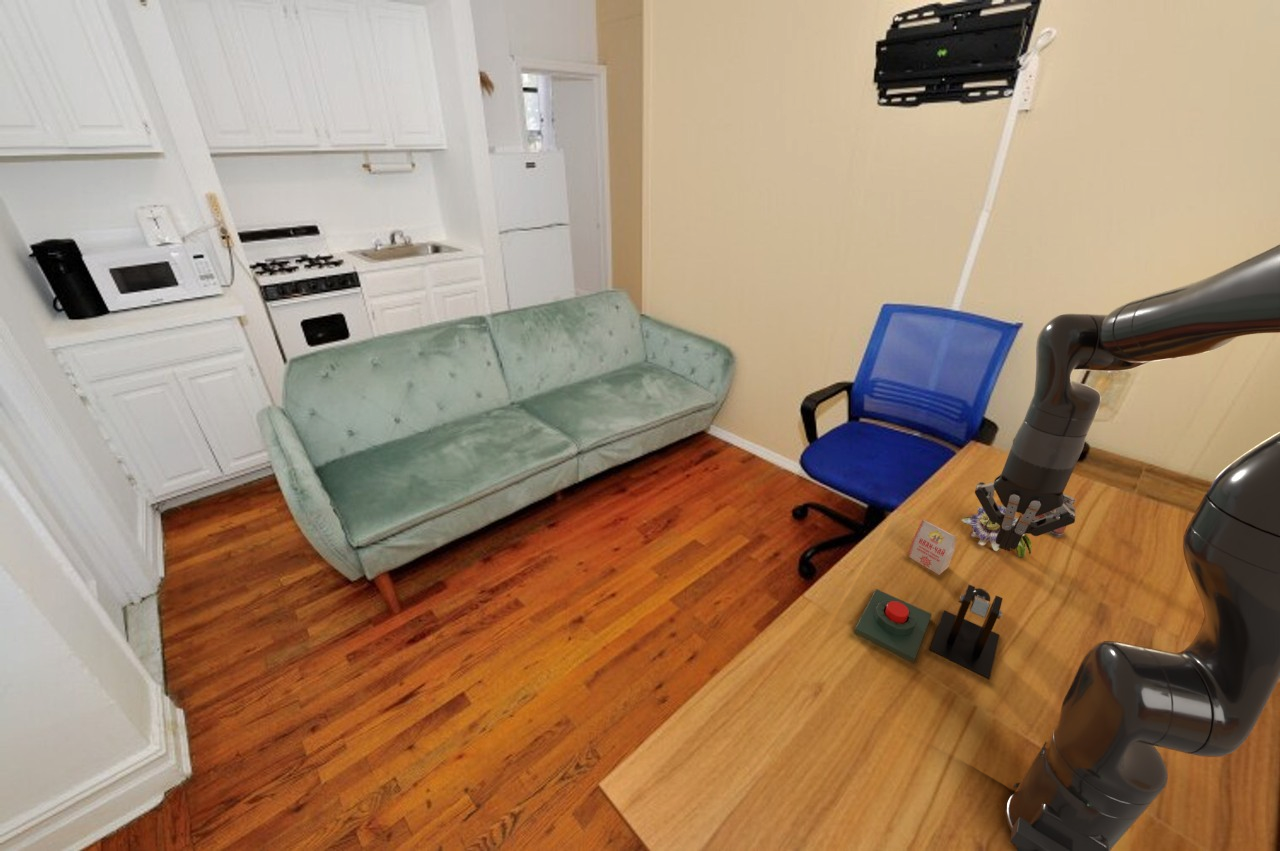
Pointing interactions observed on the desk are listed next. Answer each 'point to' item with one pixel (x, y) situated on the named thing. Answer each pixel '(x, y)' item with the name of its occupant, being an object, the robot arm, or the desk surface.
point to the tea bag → (932, 547)
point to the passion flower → (993, 531)
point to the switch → (980, 602)
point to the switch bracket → (968, 637)
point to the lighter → (1067, 501)
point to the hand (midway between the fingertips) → (1004, 546)
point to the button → (896, 612)
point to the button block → (893, 627)
